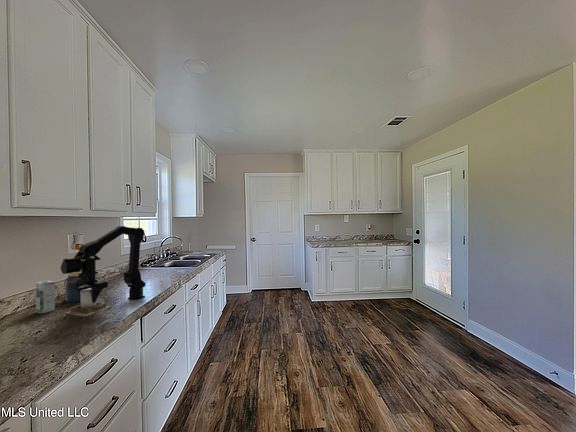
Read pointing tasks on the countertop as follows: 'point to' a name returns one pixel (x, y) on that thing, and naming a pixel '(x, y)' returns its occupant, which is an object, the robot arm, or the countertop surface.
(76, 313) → the holder
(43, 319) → the countertop surface
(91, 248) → the robot arm
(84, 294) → the towel roll
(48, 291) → the syrup box
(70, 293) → the canister
